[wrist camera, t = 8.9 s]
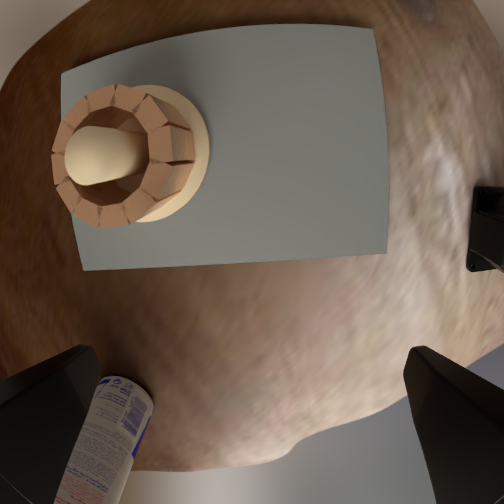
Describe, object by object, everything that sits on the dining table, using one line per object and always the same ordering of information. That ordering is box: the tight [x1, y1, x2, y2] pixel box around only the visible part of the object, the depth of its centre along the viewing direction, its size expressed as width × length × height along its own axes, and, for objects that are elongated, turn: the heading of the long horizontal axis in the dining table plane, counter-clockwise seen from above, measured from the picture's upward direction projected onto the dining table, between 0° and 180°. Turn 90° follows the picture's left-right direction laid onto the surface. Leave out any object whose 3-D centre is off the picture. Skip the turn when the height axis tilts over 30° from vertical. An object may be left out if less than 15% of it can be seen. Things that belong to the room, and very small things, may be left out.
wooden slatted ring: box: [51, 84, 195, 228], centre depth 13 cm, size 6×6×4 cm
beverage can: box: [54, 376, 154, 504], centre depth 16 cm, size 6×6×15 cm
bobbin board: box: [61, 24, 389, 271], centre depth 13 cm, size 20×14×7 cm
